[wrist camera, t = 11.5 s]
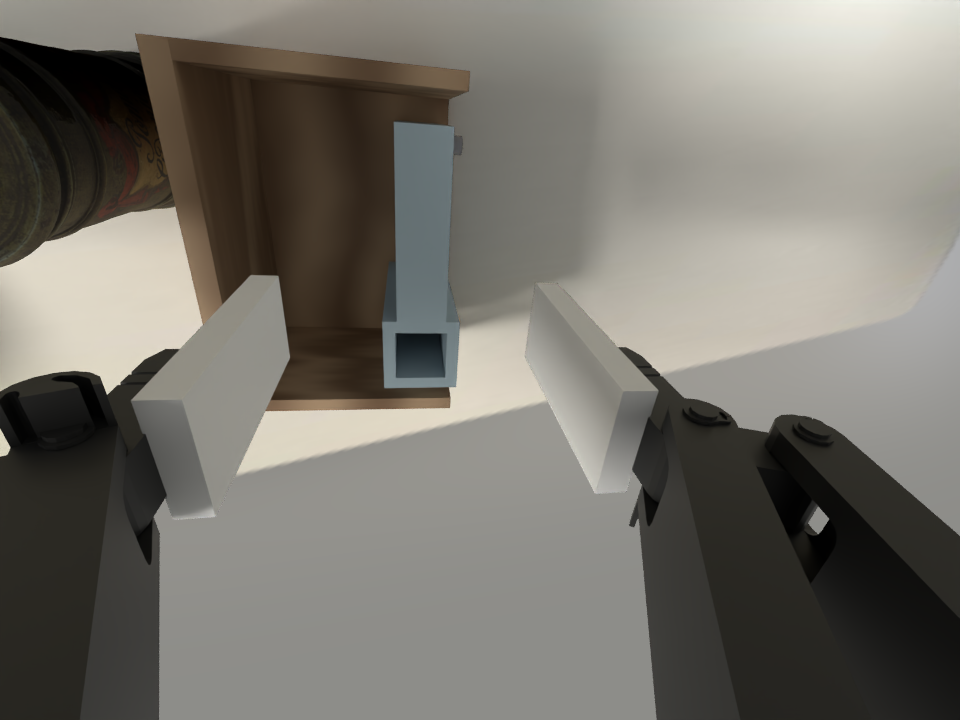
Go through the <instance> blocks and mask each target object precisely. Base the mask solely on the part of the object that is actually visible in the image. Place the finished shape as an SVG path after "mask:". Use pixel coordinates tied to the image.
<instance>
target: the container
mask: <svg viewBox="0 0 960 720" xmlns="http://www.w3.org/2000/svg"><path fill="white" fill-rule="evenodd" d="M171 207H175V203H174V198H173V194H172V190H171V185H170V181H169V177H168V173H167V168H166V164H165V160H164V155H163V151H162V147H161V143H160V138H159V134H158V130H157V126H156V121H155V117H154V113H153V108H152V104H151V100H150V96H149V91H148V87H147V83H146V78H145V74H144V70H143V66H142V61H141V57H140V53H136V52H123V51H115V50H109V51H98V52H96V51H91V50H71V51H69V50H64V49H60V48H54V47H48V46H42V45H37V44H32V43H28V42H23V41H18V40H13V39H8V38H3V37H0V267H3V266H7V265H10V264H12V263H15V262H17V261H19V260H21V259H23V258H24V257H26V256H28V255H29V254H31V253H32V252H33V251H35V250H36V249H37V248H38V247H39V246H40V245H41V244H42V243H44V242H45V241H51V240H56V239H59V238H63V237H66V236H68V235H71V234H73V233H75V232H77V231H78V230H80V229H82V228H85V227H88V226H91V225H94V224H97V223H100V222H103V221H106V220H108V219H111V218H114V217H117V216H120V215H123V214H126V213H129V212H139V211H147V210H151V209H164V208H171Z"/></svg>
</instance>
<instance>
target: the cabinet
mask: <svg viewBox="0 0 960 720" xmlns="http://www.w3.org/2000/svg"><path fill="white" fill-rule="evenodd" d="M135 36H136V40H137V44H138V48H139V53H140V57H141V61H142V66H143V70H144V74H145V78H146V83H147V87H148V91H149V96H150V100H151V104H152V108H153V113H154V117H155V121H156V126H157V130H158V134H159V138H160V143H161V147H162V151H163V155H164V160H165V164H166V168H167V173H168V177H169V181H170V185H171V190H172V194H173V198H174V203H175V207H176V211H177V215H178V220H179V224H180V228H181V233H182V237H183V241H184V245H185V250H186V254H187V258H188V263H189V267H190V271H191V275H192V280H193V284H194V288H195V292H196V297H197V301H198V305H199V310H200V314H201V318H202V322H203V325H204V324H205V322H206V321H207V320H208V319H209V318H210V317H211V316H212V315H213V314H214V313H215V312H216V311H217V310H218V309H219V308H220V307H221V306H222V305H223V304H224V303H225V302H226V300H227V299H228V298H229V297H230V296H231V295H232V294H233V293H234V292H235V291H236V290H237V289H238V288H239V287H240V286H241V285H242V284H243V283H244V282H245V281H246V280H247V279H248V277H249V276H250V275H266V276H279V283H280V290H281V297H282V304H283V311H284V318H285V325H286V332H287V339H288V347H289V354H290V359H289V361H288V363H287V365H286V367H285V370H284V372H283V374H282V376H281V378H280V380H279V382H278V385H277V387H276V389H275V391H274V393H273V395H272V397H271V400H270V402H269V404H268V406H267V408H266V410H265V411H300V410H357V409H415V408H450V392H449V387H427V388H384V362H383V330H382V320H383V310H384V301H385V292H386V283H387V274H388V265H389V261H390V262H396V239H395V170H394V121H397V120H400V121H412V122H423V123H435V124H442V125H447V126H448V106H449V99H451V98H453V97H456V96H458V95H461V94H463V93H466V92H468V91H469V79H470V71H463V70H454V69H445V68H437V67H428V66H419V65H410V64H401V63H392V62H383V61H375V60H366V59H357V58H348V57H339V56H330V55H321V54H313V53H304V52H295V51H286V50H277V49H268V48H259V47H251V46H242V45H233V44H224V43H215V42H206V41H197V40H189V39H180V38H171V37H162V36H153V35H144V34H136V33H135Z"/></svg>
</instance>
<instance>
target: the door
mask: <svg viewBox="0 0 960 720" xmlns="http://www.w3.org/2000/svg"><path fill="white" fill-rule="evenodd" d="M453 154H456V155H461V154H462V136H454V127H453V126H447V125H442V124H435V123H423V122H412V121H400V120H397V121H394V170H395V239H396V262H390V261H389V265H388V274H387V283H386V292H385V301H384V310H383V320H382V330H383V362H384V388H427V387H456V380H457V363H458V346H459V329H460V321H459V317H458V314H457V310H456V306H455V303H454V299H453V295H452V291H451V288H450V284H449V280H448V266H449V243H450V220H451V197H452V173H453Z"/></svg>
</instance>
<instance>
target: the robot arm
mask: <svg viewBox="0 0 960 720" xmlns="http://www.w3.org/2000/svg"><path fill="white" fill-rule="evenodd" d="M525 358H526V360H527V362H528V364H529V366H530V368H531V370H532V372H533V374H534V375H535V377H536V379H537V381H538V383H539V385H540V387H541V389H542V391H543V393H544V395H545V397H546V399H547V401H548V403H549V405H550V407H551V409H552V410H553V412H554V414H555V416H556V418H557V420H558V422H559V424H560V426H561V428H562V430H563V432H564V434H565V436H566V438H567V440H568V442H569V444H570V446H571V447H572V449H573V451H574V453H575V455H576V457H577V459H578V461H579V463H580V465H581V467H582V469H583V471H584V473H585V475H586V477H587V479H588V481H589V482H590V484H591V486H592V488H593V490H594V492H595V494H599V493H615V492H627V489H628V486H629V482H630V479H631V476H632V472H634V473H635V475H636V476H637V478H638V479H639V481H640V483H641V484H642V487H641V490H640V493H639V496H638V499H637V502H636V505H635V508H634V511H633V514H632V516H631V520H630V524H629V526H631V527H634V526H635V524H636V521H637V519H639V525H640V535H641V548H642V559H643V570H644V581H645V593H646V604H647V615H648V625H649V637H650V648H651V660H652V671H653V683H654V694H655V704H656V715H657V720H960V536H959V535H958V534H957V533H956V532H955V531H953V530H952V529H951V528H950V527H949V526H948V525H946V524H945V523H944V522H943V521H942V520H941V519H940V518H938V517H937V516H936V515H935V514H934V513H933V512H931V511H930V510H929V509H928V508H927V507H926V506H925V505H923V504H922V503H921V502H920V501H919V500H917V499H916V498H915V497H914V496H913V495H912V494H911V493H910V492H908V491H907V490H906V489H905V488H903V486H901V485H900V484H899V483H898V482H897V481H896V480H894V479H893V478H892V477H891V476H890V475H889V474H887V473H886V472H885V471H884V470H883V469H882V468H880V467H879V466H878V465H877V464H876V463H875V462H874V461H873V460H871V459H870V458H869V457H868V456H867V455H866V454H864V453H863V452H862V451H861V450H860V449H858V448H857V447H856V446H855V445H854V444H852V442H851V441H849V440H848V439H847V438H846V437H845V436H843V435H842V434H841V433H839V432H838V431H836V430H835V429H833V428H832V427H829V426H827V425H825V424H824V423H823V422H821V421H819V420H816V419H812V418H810V417H806V416H797V415H781V416H779V417H777V418H776V419H775V420H774V423H773V425H772V427H771V429H770V431H769V433H767V432H761V431H755V430H749V429H743V428H738V426H737V424H736V422H735V420H734V419H733V418H732V417H731V415H729V414H728V413H726V412H725V411H724V410H722V409H721V408H719V407H717V406H714V405H712V404H710V403H707V402H703V401H700V400H695V399H686V398H683V397H682V396H681V395H680V394H679V393H678V392H677V391H676V390H675V389H674V388H673V387H672V386H671V385H670V384H669V383H668V382H667V381H666V380H665V379H664V378H663V377H662V376H660V374H659V373H658V372H657V371H656V370H655V369H654V368H652V366H651V365H650V364H649V363H648V362H647V361H646V360H645V359H644V358H643V357H642V356H641V355H639V354H637V353H635V352H634V351H632V350H630V349H628V348H626V347H617V346H616V345H615V344H614V343H613V342H612V340H611V339H610V338H609V337H608V336H607V335H606V334H605V333H604V332H603V331H602V330H601V329H600V328H599V327H598V326H597V325H596V323H595V322H594V321H593V320H592V319H591V318H590V317H589V316H588V315H587V314H586V313H585V312H584V311H583V310H582V309H581V307H580V306H579V305H578V304H577V303H576V302H575V301H574V300H573V299H572V298H571V297H570V296H569V295H568V294H567V293H566V292H565V290H564V289H563V288H562V287H561V286H560V285H559V284H558V283H536V282H535V288H534V295H533V302H532V309H531V316H530V323H529V330H528V337H527V344H526V351H525ZM289 359H290V354H289V347H288V339H287V332H286V325H285V318H284V311H283V304H282V297H281V290H280V283H279V276H266V275H250V276H249V277H248V279H247V280H246V281H245V282H244V283H243V284H242V285H241V286H240V287H239V288H238V289H237V290H236V291H235V292H234V293H233V294H232V295H231V296H230V297H229V298H228V299H227V300H226V302H225V303H224V304H223V305H222V306H221V307H220V308H219V309H218V310H217V311H216V312H215V313H214V314H213V315H212V316H211V317H210V318H209V319H208V320H207V321H206V322H205V324H204V325H203V326H202V327H201V328H200V329H199V330H198V331H197V332H196V333H195V334H194V335H193V336H192V337H191V338H190V339H189V340H188V341H187V342H186V343H185V344H184V345H183V347H182V348H181V349H165V350H163V351H161V352H159V353H157V354H155V355H153V356H151V357H149V358H147V359H145V360H144V361H143V362H142V363H141V364H140V365H139V366H138V367H136V368H135V369H134V370H133V371H132V375H128V376H127V377H126V378H125V379H124V380H123V381H122V382H121V385H117V386H116V387H115V388H114V389H113V390H112V391H111V392H110V393H109V394H108V395H107V394H106V391H105V389H104V386H103V383H102V381H101V378H100V376H97V375H95V374H93V373H90V372H79V371H71V372H59V373H52V374H48V375H43V376H38V377H34V378H31V379H28V380H25V381H22V382H19V383H17V384H14V385H12V386H10V387H8V388H6V389H4V390H2V391H0V429H1V430H2V432H3V434H4V436H5V438H6V440H7V442H8V443H9V445H10V447H11V448H10V451H9V453H8V455H6V456H1V457H0V720H159V552H160V547H159V545H160V542H159V540H160V539H159V538H160V536H159V535H160V533H159V531H158V528H157V525H156V522H155V520H154V515H155V513H156V512H157V510H158V509H159V507H160V505H161V504H162V502H163V501H164V499H166V501H167V504H168V507H169V510H170V513H171V516H172V518H173V520H174V519H191V518H208V517H216V516H217V514H218V512H219V509H220V507H221V505H222V503H223V501H224V499H225V496H226V494H227V492H228V490H229V488H230V486H231V484H232V481H233V479H234V477H235V475H236V473H237V471H238V468H239V466H240V464H241V462H242V460H243V458H244V456H245V453H246V451H247V449H248V447H249V445H250V443H251V441H252V438H253V436H254V434H255V432H256V430H257V428H258V425H259V423H260V421H261V419H262V417H263V415H264V413H265V410H266V408H267V406H268V404H269V402H270V400H271V397H272V395H273V393H274V391H275V389H276V387H277V385H278V382H279V380H280V378H281V376H282V374H283V372H284V370H285V367H286V365H287V363H288V361H289ZM818 506H819V507H820V509H821V510H822V511H823V512H824V513H825V514H826V515H827V517H828V518H829V521H828V522H827V524H826V525H825V527H824V528H823V530H822V531H821V532H820V533H819V534H817V533H816V532H815V531H814V530H813V529H812V528H811V527H810V526H809V524H808V522H809V520H810V519H811V517H812V516H813V514H814V512H815V511H816V509H817V507H818Z"/></svg>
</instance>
